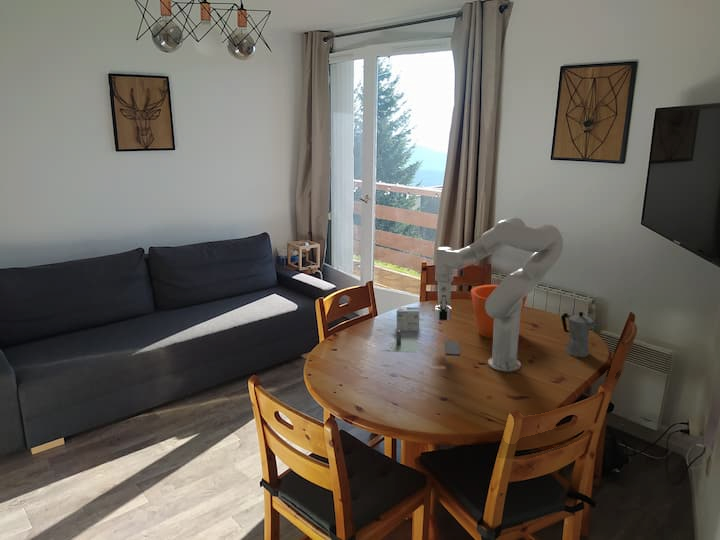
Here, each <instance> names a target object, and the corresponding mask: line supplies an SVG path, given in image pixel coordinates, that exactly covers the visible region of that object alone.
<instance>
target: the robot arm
mask: <svg viewBox="0 0 720 540" xmlns="http://www.w3.org/2000/svg"><path fill="white" fill-rule="evenodd" d="M507 246H509V247H512V248H514V249H518V250H521V251H526V252H530V253H532V254H531V255H530V257H529V258H528V259H527V260H526V261H525V263H524V264H523V265H522V266H521V267H520V268H518V269H517V270H515V271H513V272H512V273H509V274H507V275H506V276H505V277H504V278H503V279H502V280H501V281H500V282H499V283H498V284H497V285H498V286H497V287H496V288H495V289H494V291H493V292H492V293H491V294H490V295H489V297H488V298H487V300H486V302H485V310H486V312H487V314H488V315H489V316H490V317H492V318H494V331H493V339H492V356H491V357H490V358H489V359H487V365H488V366H489V367H490V368H492V369H493V370H496V371H500V372H501V371H502V372H515V371H517V370H519V369H521V365H522V363H521V362H520V360H518V348H519V333H520V332H519V331H520V319H521V317H520V314H521V309H522V298H523V297H524V296H526V295H527V296H528V295H529V294H530V293H532V292H534V290H535V289H536V288H537V286H538V285H539V284H540V283H541V282H542V281H543V279H544V278H546V276H547V275H548V273H549V272H550V271H551V270H553V268H554V267H555V265H556V264H557V262H559V259H560V258H561V255H562V253H563V248H564V239H563V236H562V233H561V231H560V230H559V229H558V227H556V226H554V225H553V224H542V225H539V226H535V227H530V226H526V223H525V222H524V220H523V219H521V218H519V217H516V216H514V217H509V218H506V219H502V220H499V222H497V223H496V224H495V225H494V227H492V228H490V229H489V230H486V231H485V232H484V233H482V234H481V236H480V238H479V239H477V240H476V241H474V242H473V243H471V244H469V245H468V246H466V247H463V248H459V249H457V250H454V248H452V247H450V246H439V247H437V248H436V250H435V263H434V264H435V269H434V281H436V282H437V300H438V302H437V303H438V305H440V311H439V320H438V321H442V320H446V321H448V320H447V306H450V305H451V295H452V293H451V290H452V285H451V284H452V283H451V282H453V281H454V270H461V269H465V268H466V267H468V266H471V265H473V264H476V263H478V262H479V261H481V260H483V259H485V258H487V257H488V256H490V255H493V254H494V253H496V252H498V251H500V250H501V249H503V248H505V247H507ZM441 305H442V307H441ZM521 315H522V314H521Z"/></svg>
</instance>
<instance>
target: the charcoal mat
mask: <svg viewBox="0 0 720 540" xmlns="http://www.w3.org/2000/svg"><path fill="white" fill-rule="evenodd" d="M444 353H445V354H452V355H451V356H460V355H461V354H460V353H461V352H460V345H459V341H458V340H444Z"/></svg>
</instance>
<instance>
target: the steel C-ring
mask: <svg viewBox="0 0 720 540" xmlns="http://www.w3.org/2000/svg"><path fill="white" fill-rule="evenodd" d="M441 307H442V305H441ZM452 309H453V308H452V306H450V305H447V320H441V321H444V322H445V321H450V320H451V319H452ZM439 311H440V304H438V305H437V304H436V306H435V307H434V319H436V320H437V321H440V320H439Z"/></svg>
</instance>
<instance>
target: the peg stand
mask: <svg viewBox="0 0 720 540" xmlns="http://www.w3.org/2000/svg"><path fill="white" fill-rule="evenodd" d="M395 332H396V333H395V334H396V336H395V337H396V340H395V342H394V343H390V344H392V346H391V345H389V346H391V347H390V349H392V350H389V351H388V352H398V353H399V352H401V353H402V352H404V353H417V351H418V337H405V336H404V337H402V331H399V330H396V331H395Z"/></svg>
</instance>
